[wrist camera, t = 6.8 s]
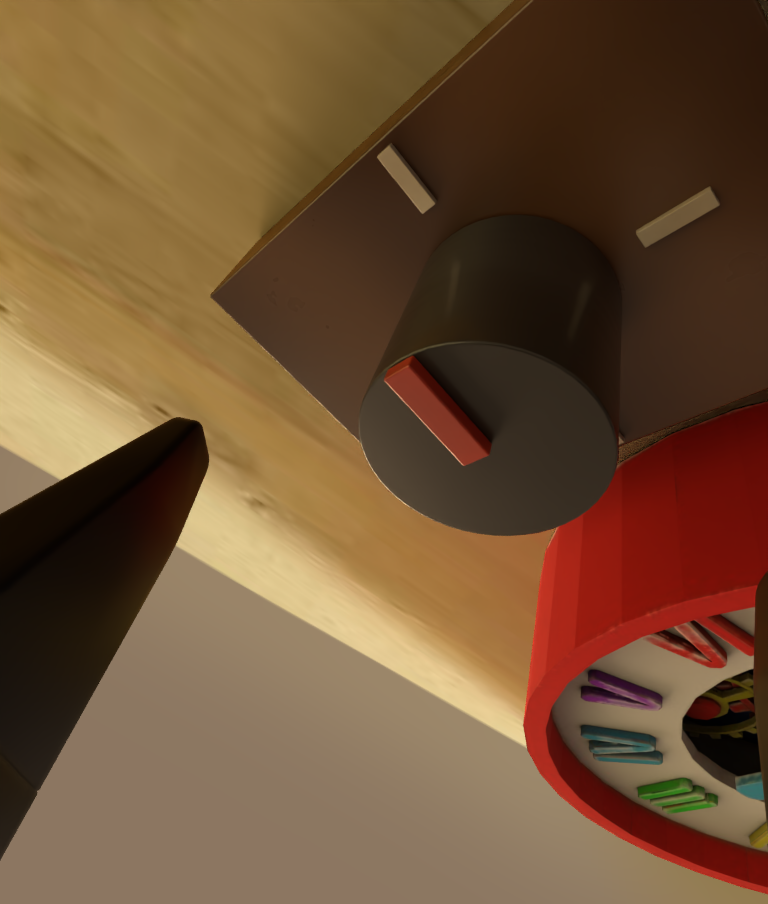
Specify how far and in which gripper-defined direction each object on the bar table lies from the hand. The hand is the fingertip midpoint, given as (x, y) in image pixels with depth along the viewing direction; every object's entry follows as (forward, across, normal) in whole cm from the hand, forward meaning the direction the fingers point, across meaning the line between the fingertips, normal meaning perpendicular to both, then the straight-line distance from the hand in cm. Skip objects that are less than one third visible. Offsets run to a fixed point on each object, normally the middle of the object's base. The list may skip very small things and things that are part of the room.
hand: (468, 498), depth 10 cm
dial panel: (+9, 0, 0) cm, 9 cm away
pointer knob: (+6, 0, 0) cm, 6 cm away
